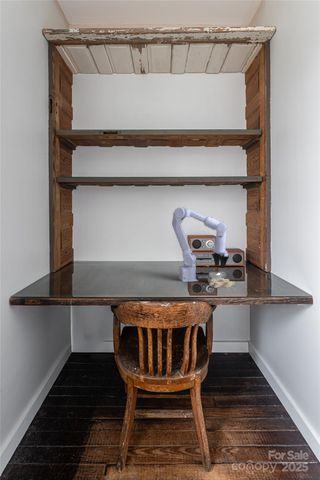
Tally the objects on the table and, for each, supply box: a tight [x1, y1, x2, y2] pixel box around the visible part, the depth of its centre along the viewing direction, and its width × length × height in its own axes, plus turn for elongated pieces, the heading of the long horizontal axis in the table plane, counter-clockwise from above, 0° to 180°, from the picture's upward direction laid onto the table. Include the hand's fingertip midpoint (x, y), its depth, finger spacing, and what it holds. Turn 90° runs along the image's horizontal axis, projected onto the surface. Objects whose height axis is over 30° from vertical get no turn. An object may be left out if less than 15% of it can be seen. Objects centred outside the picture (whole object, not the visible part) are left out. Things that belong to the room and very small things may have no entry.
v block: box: [207, 277, 225, 283], centre depth 182 cm, size 8×5×2 cm, turn 106°
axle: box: [208, 271, 227, 279], centre depth 182 cm, size 9×4×4 cm, turn 106°
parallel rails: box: [208, 278, 236, 289], centre depth 175 cm, size 12×7×2 cm, turn 106°
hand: (219, 266), depth 182 cm, fingers open, 7 cm apart
